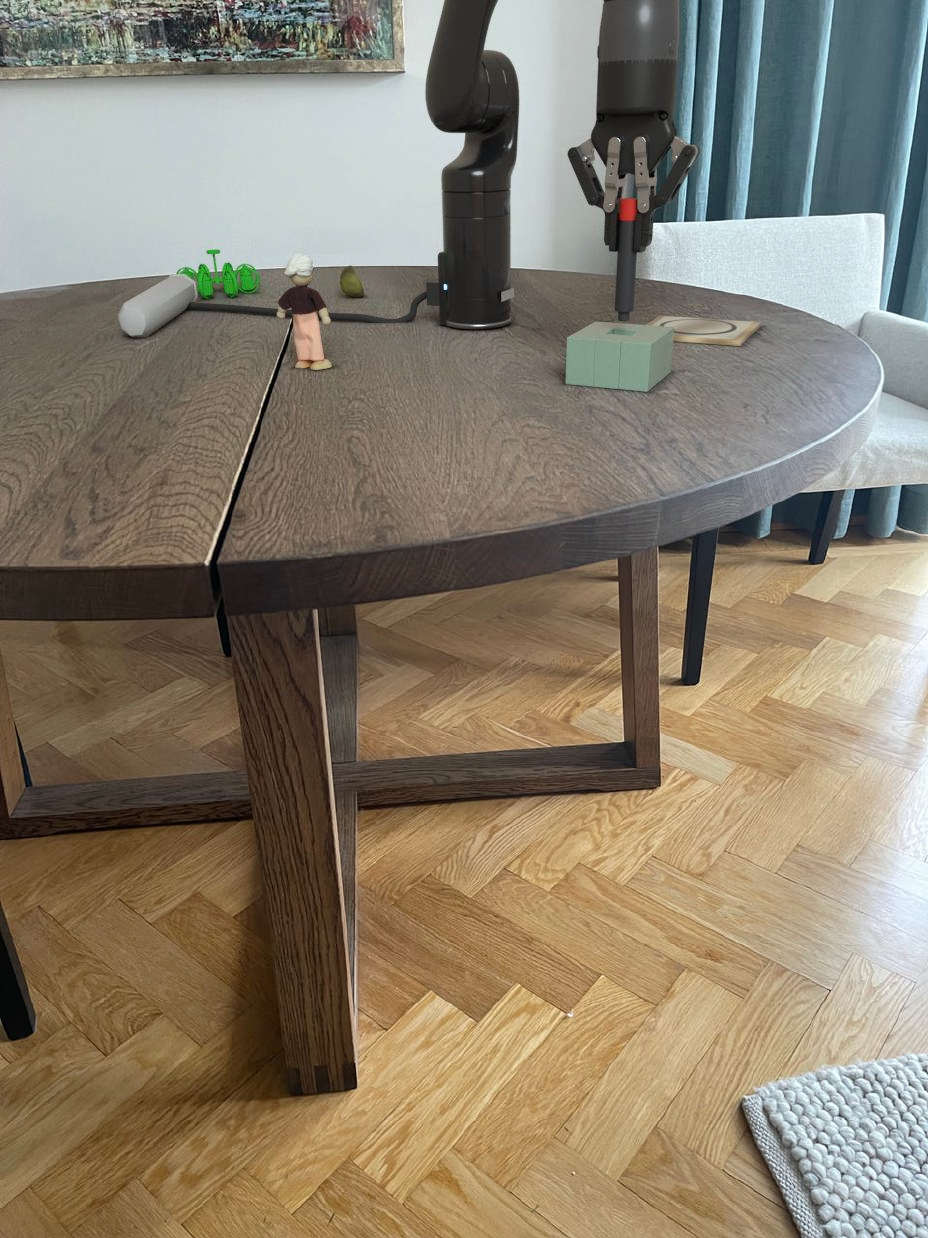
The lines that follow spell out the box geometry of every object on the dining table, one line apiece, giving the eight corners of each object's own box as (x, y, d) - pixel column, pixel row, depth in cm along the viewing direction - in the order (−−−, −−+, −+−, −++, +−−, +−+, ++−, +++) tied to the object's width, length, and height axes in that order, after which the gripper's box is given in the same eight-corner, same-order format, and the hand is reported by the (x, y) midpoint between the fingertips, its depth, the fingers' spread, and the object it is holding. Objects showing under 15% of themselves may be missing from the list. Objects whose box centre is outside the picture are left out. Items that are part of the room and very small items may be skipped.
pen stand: (565, 383, 102) (566, 337, 99) (593, 365, 109) (595, 321, 106) (647, 392, 98) (650, 343, 95) (670, 372, 105) (674, 326, 103)
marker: (611, 321, 100) (617, 199, 94) (617, 317, 102) (623, 197, 96) (630, 322, 99) (637, 199, 93) (635, 318, 101) (643, 197, 95)
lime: (352, 294, 156) (349, 262, 154) (374, 296, 154) (371, 264, 151) (334, 298, 153) (331, 266, 151) (356, 300, 151) (353, 268, 148)
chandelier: (194, 285, 168) (188, 244, 165) (274, 285, 166) (269, 244, 163) (159, 300, 155) (152, 256, 152) (245, 300, 153) (240, 255, 150)
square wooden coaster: (631, 337, 121) (631, 331, 121) (659, 319, 131) (659, 313, 131) (740, 346, 116) (740, 339, 115) (760, 326, 126) (761, 320, 125)
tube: (153, 309, 125) (201, 278, 147) (113, 297, 124) (167, 268, 146) (148, 348, 128) (195, 312, 149) (109, 336, 127) (162, 301, 149)
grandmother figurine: (345, 364, 112) (336, 252, 106) (331, 371, 109) (320, 256, 103) (289, 360, 114) (276, 250, 108) (273, 368, 111) (259, 255, 105)
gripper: (719, 55, 89) (701, 248, 97) (582, 62, 94) (577, 244, 103) (700, 52, 83) (683, 258, 91) (555, 59, 89) (552, 253, 97)
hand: (627, 250), depth 97 cm, fingers closed on marker, 2 cm apart
